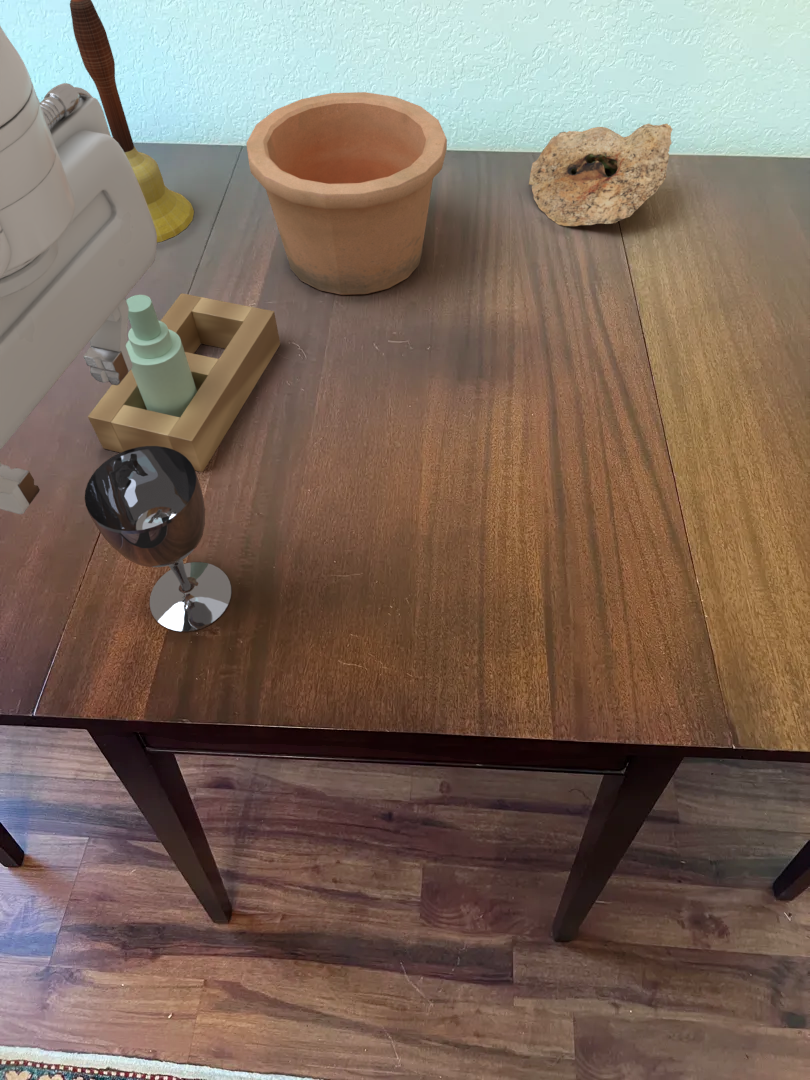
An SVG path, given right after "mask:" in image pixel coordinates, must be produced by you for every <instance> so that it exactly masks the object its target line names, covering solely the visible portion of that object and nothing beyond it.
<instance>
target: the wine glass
mask: <svg viewBox="0 0 810 1080" xmlns="http://www.w3.org/2000/svg"><path fill="white" fill-rule="evenodd" d="M84 503H85V507H86V509H87V512H88V514H89V516H90V518H91V520H92V521H93V524H94V525H95V527H96V529H97V530H98V531H99V532H100V534H101V535H102V537H103V538H104V539H105V541H106V542H107V543H108V544H109V545H110V546H111V547H112V548H113V549H114V550H115V551H116V552H117V553H118V554H120V555H121V556H122V557H123V558H125V559H126V560H127V561H130V562H132V563H133V564H135V565H139V566H141V567H147V568H164V567H168V568H169V569H170V570H168V571H166V572H165V573H163V575H161V576H160V578H158V580H157V581H156V583H155V584H154V586H153V587H152V590H151V593H150V596H149V610H150V614H151V615H152V617H153V619H154V620H155V621H156V622H157V623H158V624H159V625H160V626H161V627H164V628H165V629H166V630H170V631H173V632H179V633H188V632H197V631H200V630H202V629H205V628H207V627H209V626H210V625H212V624H213V623H215V622H216V621H218V620H219V619H220V618H221V617H222V616H223V614H225V612H226V611H227V609H228V607H229V606H230V602H231V599H232V593H233V590H232V588H233V587H232V583H231V580H230V578H229V577H228V575H227V574H226V573H225V572H224V571H223V570H222V569H221V568H220V567H218V566H216V565H214V564H211V563H209V562H203V561H192V562H186V563H184V559H186V558H187V557H188V556H189V555H191V554H192V553H193V552H194V551H195V549H196V548H197V547H198V545H199V544H200V542H201V540H202V539H203V535H204V531H205V525H206V506H205V498H204V494H203V490H202V487H201V483H200V479H199V477H198V474H197V471H195V469H194V467H193V466H192V464H191V462H190V461H189V460H188V459H187V458H186V457H185V456H184V455H182V454H181V453H179V452H177V451H175V450H173V449H170V448H166V447H160V446H143V447H137V448H133V449H129V450H126V451H124V452H121V453H120V452H118V453H117V454H115V455H113V456H111V457H109V458H108V459H107V460H105V461H104V462H103V463H102V464H100V466H99V467H98V468H96V469H95V471H94V472H93V474H92V475H91V476H90V478H89V480H88V481H87V484H86V487H85V491H84Z"/></svg>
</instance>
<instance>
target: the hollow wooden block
mask: <svg viewBox="0 0 810 1080" xmlns="http://www.w3.org/2000/svg"><path fill="white" fill-rule="evenodd" d="M160 321H162V322H163V323H165V324H166V325H167V327H168V329H169V330H172V331H174V332H175V333H177V334H178V336H179V337H180V339H181V342H182V345H183V348H184V351H185V355H186V358H187V361H188V364H189V367H190V371H191V374H192V377H193V380H194V383H195V386H196V390H197V393H196V394H195V396H194V397H193V399H192V400H191V402H190V403H189V405H188V406H187V408H186V409H185V411H184V412H183V414H182V415H181V417H176V416H171V415H167V414H163V413H158V412H154V411H149V410H147V408H146V406H145V403H144V401H143V398H142V396H141V393H140V391H139V388H138V386H137V383H136V380H135V378H134V375H133V373H132V370H130V371H129V372H128V374H127V375H126V376H125V378H124V379H123V380H122V381H121V383H120V384H119V385H111V384H110V387H109V388H108V389H107V390H106V391H105V393H104V394H103V396H102V397H101V398H100V400H99V401H98V403H96V405H95V407H94V408H93V409H92V411H91V412H90V413H89V414H88V415H87V418H88V420H89V422H90V424H91V426H92V428H93V431H94V433H95V435H96V437H97V439H98V442H99V444H100V446H101V447H102V449H104V450H108V451H112V452H117V453H121V452H124V451H126V450H129V449H133V448H137V447H143V446H160V447H166V448H170V449H173V450H175V451H177V452H179V453H181V454H182V455H184V456H185V457H186V458H187V459H188V460H189V461H190V462H191V464H192V466H193V467H194V469H195V471H196V472H200V473H204V471H205V470H206V468H207V466H208V465H209V463H210V461H211V459H212V458H213V456H214V455H215V453H216V451H217V450H218V448H219V446H220V445H221V443H222V441H223V440H224V438H225V436H226V435H227V433H228V432H229V430H230V428H231V427H232V425H233V423H234V422H235V421H236V418H237V416H238V415H239V413H240V412H241V410H242V408H243V406H244V405H245V404H246V402H247V400H248V398H249V397H250V395H251V394H252V391H253V390H254V388H255V387H256V385H257V384H258V382H259V381H260V379H261V377H262V375H263V374H264V372H265V371H266V369H267V367H268V366H269V363H270V362H271V360H272V359H273V357H274V355H275V354H276V352H277V350H278V348H279V347H280V345H281V340H280V336H279V335H280V334H279V329H278V324H277V318H276V314H275V311H274V310H270V309H266V308H259V307H255V306H249V305H244V304H239V303H234V302H228V301H225V300H224V301H223V300H218V299H214V298H207V297H203V296H198V295H193V294H187V293H183V292H182V293H180V294H179V296H178V297H177V298H176V299H175V301H174V302H173V303H172V305H170V307H169V309H168V310H167V311H166V313H165V314H164V315H163V317H162V318H161V319H160ZM201 345H205V346H210V347H216V348H220V349H224V350H223V352H222V353H221V355H220V356H219V358H216V357H211V356H206V355H201V354H198V353H197V354H196V352H197V351H198V349H199V347H200V346H201Z"/></svg>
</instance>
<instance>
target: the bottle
mask: <svg viewBox="0 0 810 1080" xmlns="http://www.w3.org/2000/svg"><path fill="white" fill-rule="evenodd" d="M126 302H127V304H128V307H129V311H128V322H129V325H130V329H129V331H128V332H127V344H126V348H127V351H128V354H129V356H130V359H131V362H132V365H133V366H132V369H131V370H132V373H133V375H134V378H135V380H136V383H137V386H138V388H139V391H140V393H141V396H142V398H143V401H144V403H145V406H146V408H147V410H149V411H154V412H158V413H163V414H167V415H171V416H176V417H181V415H182V414H183V412H184V411H185V409H186V408H187V406H188V405H189V403H190V402H191V400H192V399H193V397H194V396H195V394H196V393H197V390H196V386H195V383H194V380H193V377H192V374H191V371H190V367H189V364H188V361H187V358H186V355H185V351H184V348H183V345H182V342H181V339H180V337H179V336H178V334H177V333H175V332H174V331H172V330H169V329H168V327H167V325H166V324H165V323H163V322H162V321H161V320H159V319H158V315H157V312H156V310H155V307H154V304H153V301H152V298H150V296H148V295H145V294H135V295H132V296H130V297H128V298H127V299H126Z"/></svg>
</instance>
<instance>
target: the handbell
mask: <svg viewBox="0 0 810 1080" xmlns="http://www.w3.org/2000/svg"><path fill="white" fill-rule="evenodd" d="M69 8H70V16H71V22H72V23H71V24H72V30H73V35H74V39H75V42H76V45H77V48H78V51H79V55H80V58H81V60H82V63H83V66H84V68H85V70H86V71H87V73H88V75H89V77H90V78H91V80H92V81H93V83H94V85H95V87H96V90H97V92H98V96H99V98H100V102H101V106H102V109H103V112H104V116H105V119H106V122H107V125H108V128H109V131H110V135H111V137H112V138H114V139H115V140H116V141H117V142H118V144H119V145H120V146H121V148H122V149H123V151H124V153H125V154H126V156H127V158H128V160H129V162H130V164H131V167H132V169H133V171H134V174H135V176H136V178H137V180H138V183H139V185H140V188H141V190H142V193H143V195H144V198H145V201H146V203H147V206H148V209H149V211H150V214H151V217H152V220H153V223H154V226H155V229H156V234H157V243H162V242H165V241H166V240H169V239H172V238H174V237H177V236H178V235H179V234H180V233H182V232H183V231H185V230H186V229H188V227H189V225H190V224H191V223H192V221H193V220H194V214H195V210H194V207H193V205H192V203H191V202H190V201H189V200H188V198H186V197H185V196H184V195H182V194H181V193H179V192H176V191H173V190H172V189H169V188H168V187H167V186H166V185H165V182H164V178H163V175H162V173H161V170H160V167H159V164H158V162H157V161H156V159H154V158H153V157H152V156H151V155H149V154H147V153H144V152H142V151H141V152H140V151H138V150H137V148H136V147H135V144H134V141H133V138H132V134H131V131H130V128H129V124H128V121H127V118H126V114H125V111H124V107H123V104H122V101H121V97H120V94H119V90H118V86H117V82H116V63H115V57H114V53H113V51H112V47H111V44H110V40H109V38H108V34H107V31H106V28H105V26H104V24H103V22H102V20H101V18H100V16H99V14H98V12H97V10H96V7H95V5H94V3H93V1H92V0H70V1H69Z"/></svg>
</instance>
